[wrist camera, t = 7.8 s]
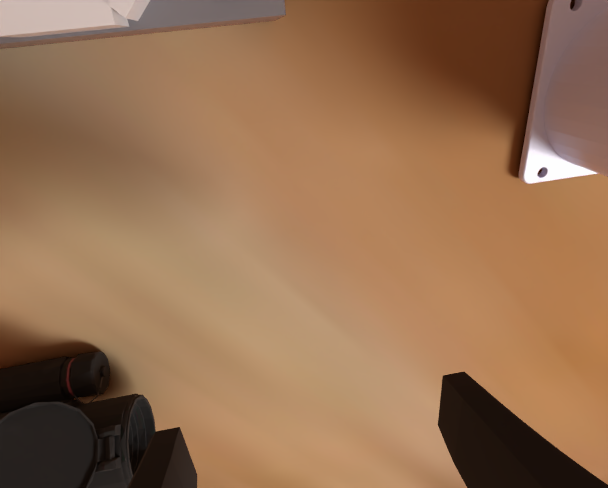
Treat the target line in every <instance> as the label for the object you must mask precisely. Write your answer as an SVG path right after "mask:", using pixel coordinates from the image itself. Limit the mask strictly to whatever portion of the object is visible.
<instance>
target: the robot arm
mask: <svg viewBox="0 0 608 488" xmlns="http://www.w3.org/2000/svg"><path fill="white" fill-rule="evenodd" d="M570 3H571V0H549V1H548V5H547V9H546V14H545V20H544V26H543V32H542V38H541V44H540V50H539V56H538V62H537V68H536V74H535V80H534V86H533V92H532V97H531V103H530V109H529V115H528V121H527V127H526V133H525V139H524V145H523V151H522V157H521V163H520V169H519V178H520V180H521V181H523V182H525V183H530V184H531V183H537V182H544V181H551V180H557V179H564V178H571V177H577V176H584V175H591V174H597V173H599V174H602V175H605V176H608V0H575V4H574V7H573V8H572V9H570ZM541 168H542V171H541V173H540V174H537V173H538V171H539V170H540V169H541ZM438 426H439V429H440V431H441V433H442V436H443V438H444V441H445V443H446V446H447V448H448V450H449V453H450V455H451V457H452V460H453V462H454V464H455V466H456V468H457V469H458V471H459V473H460V475H461V477H462V479H463V481H464V482H465V484H466V486H467V488H608V485H607V484H606V483H604V482H603V481H601V480H600V479H599V478H597V477H596V476H594V475H593V474H591V473H590V472H589V471H587V470H586V469H584V468H583V467H582V466H580V465H579V464H578V463H576V462H575V461H573V460H572V459H571V458H569V457H568V456H567V455H565V454H564V453H563V452H561V451H560V450H559V449H557V448H556V447H555V446H553V445H552V444H551V443H550V442H548V441H547V440H546V439H544V438H543V437H542V436H541V435H539V434H538V433H537V432H536V431H534V430H533V429H532V428H531V427H529V426H528V425H527V424H526V423H524V422H523V421H522V420H521V419H519V418H518V417H517V416H516V415H515V414H513V413H512V412H511V411H510V410H509V409H507V408H506V407H505V406H504V405H503V404H501V403H500V402H499V401H498V400H497V399H496V398H494V397H493V396H492V395H491V394H490V393H488V392H487V391H486V390H485V389H484V388H483V387H482V386H480V385H479V384H478V383H477V382H476V381H475V380H473V379H472V378H471V377H470V376H469V375H467V374H466V373H465V372H459V373H454V374H449V375H444V376H443V380H442V390H441V400H440V410H439V420H438ZM128 488H197V473H196V470H195V468H194V465H193V462H192V459H191V457H190V454H189V451H188V448H187V446H186V443H185V440H184V438H183V435H182V432H181V429H180V427H177V428H172V429H167V430H162V431H157V432H155V433H154V435H153V436H152V438H151V440H150V442H149V445H148V447H147V449H146V451H145V453H144V455H143V457H142V459H141V461H140V464H139V466H138V468H137V470H136V472H135V474H134V476H133V478H132V480H131V482H130V484H129V486H128Z"/></svg>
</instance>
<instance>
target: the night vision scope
mask: <svg viewBox="0 0 608 488" xmlns="http://www.w3.org/2000/svg"><path fill="white" fill-rule="evenodd" d="M109 378H110V368H109V363H108V359H107V357H106V356H105V354H104V353H102V352H93V353H85V354H78V355H77V357H76V358H70V357H62V358H57V359H52V360H46V361H41V362H36V363H31V364H25V365H20V366H15V367H9V368H4V369H0V488H128V486H129V484H130V482H131V480H132V478H133V476H134V474H135V472H136V470H137V468H138V466H139V464H140V461H141V459H142V457H143V455H144V453H145V451H146V449H147V447H148V445H149V442H150V440H151V438H152V436H153V435H154V433H155V432H156V431H155V422H154V417H153V413H152V409H151V406H150V404H149V402H148V400H147V399H146V398H145V397H144V396H143V395H138V394H132V395H127V396H122V397H117V398H112V399H106V400H101V401H96V402H92V401H93V400H94V399H95V398H96V397H97V396H98V395H100V394H104V392H105V391H106V389H107V387H108V386H109ZM93 395H97V396H96V397H95V398H94V399H93V400H92V401H90V402H89V403H83V402H81V401H80V400H79V399H78V398H77V397H86V396H93ZM74 398H76V399H77V400H73V399H74ZM69 400H70V401H69Z"/></svg>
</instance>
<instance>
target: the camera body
mask: <svg viewBox="0 0 608 488" xmlns="http://www.w3.org/2000/svg"><path fill="white" fill-rule="evenodd" d="M285 15H286V12H285V2H284V0H0V49H2V48H12V47H22V46H32V45H41V44H51V43H61V42H71V41H80V40H90V39H100V38H110V37H119V36H129V35H139V34H148V33H158V32H168V31H178V30H187V29H197V28H207V27H217V26H226V25H236V24H246V23H256V22H265V21H275V20H277V19H279V18H281V17H283V16H285Z"/></svg>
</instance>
